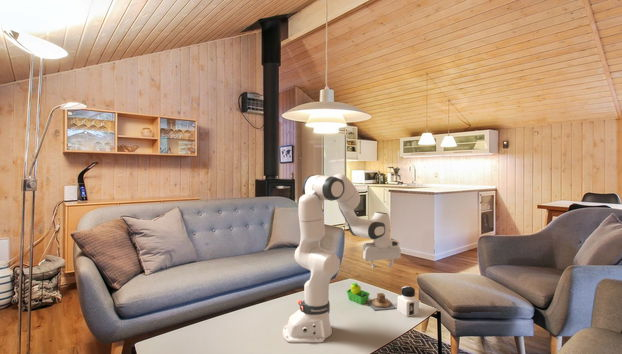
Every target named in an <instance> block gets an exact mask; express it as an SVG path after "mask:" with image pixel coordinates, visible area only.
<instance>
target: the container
mask: <svg viewBox="0 0 622 354" xmlns="http://www.w3.org/2000/svg"><path fill="white" fill-rule="evenodd" d="M415 296H416V289H415V288H414V287H412V286H408V285H405V286H403V287H401V295H399V296H397V297H396V298H397V300H396V301H397V304H396V305H397V306H396V309H397V311H398V313H400V314H402V315H403V316H404V317H406V318H408V317H412V316H416V315H419V313H420V312H419V311H420V310H419V308H420V299H418V298H417V297H415Z"/></svg>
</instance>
